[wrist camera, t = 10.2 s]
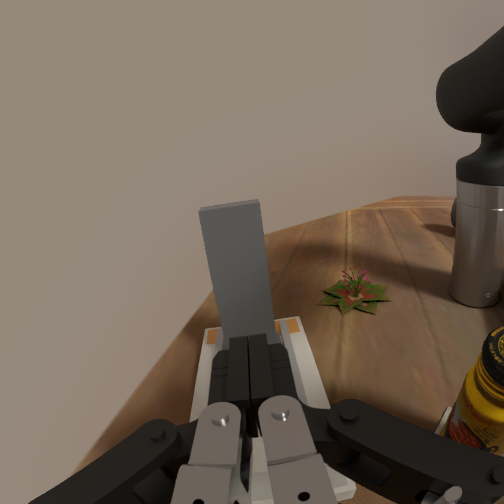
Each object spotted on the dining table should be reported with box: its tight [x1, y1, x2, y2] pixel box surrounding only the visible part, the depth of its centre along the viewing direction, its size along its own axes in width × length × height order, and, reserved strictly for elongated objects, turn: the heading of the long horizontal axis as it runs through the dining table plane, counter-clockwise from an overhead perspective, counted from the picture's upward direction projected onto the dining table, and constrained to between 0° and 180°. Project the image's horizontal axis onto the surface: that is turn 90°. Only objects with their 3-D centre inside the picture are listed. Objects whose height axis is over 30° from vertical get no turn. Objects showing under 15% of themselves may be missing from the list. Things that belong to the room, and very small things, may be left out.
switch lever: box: [199, 199, 282, 350], centre depth 27 cm, size 4×6×16 cm, turn 93°
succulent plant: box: [317, 268, 391, 315], centre depth 41 cm, size 12×12×5 cm
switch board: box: [190, 316, 356, 504], centre depth 25 cm, size 24×12×3 cm, turn 3°
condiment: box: [435, 326, 504, 456], centre depth 12 cm, size 7×8×12 cm
